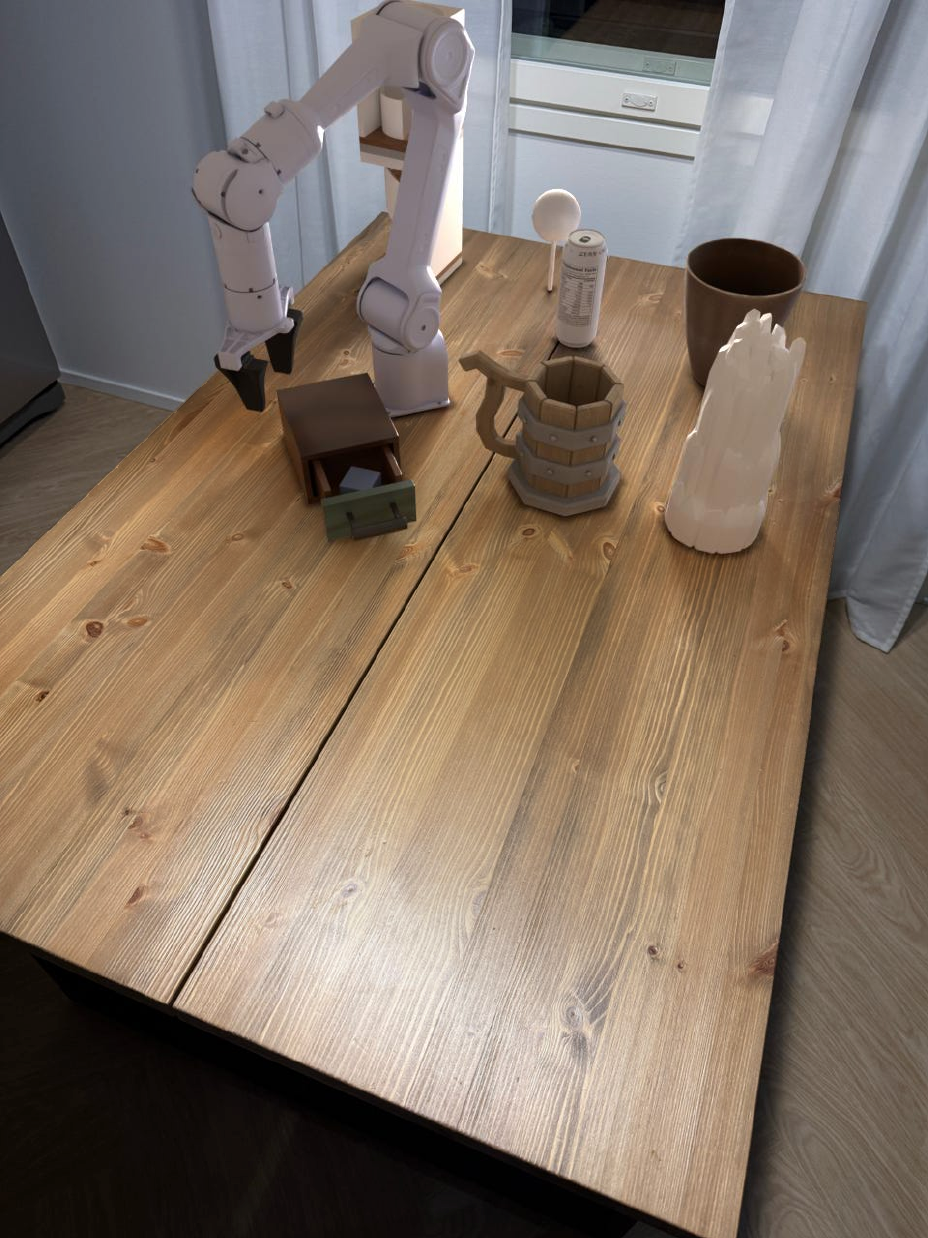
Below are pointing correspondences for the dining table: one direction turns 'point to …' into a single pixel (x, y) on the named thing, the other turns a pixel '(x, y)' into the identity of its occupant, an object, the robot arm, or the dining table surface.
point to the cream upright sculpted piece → (735, 440)
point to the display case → (386, 145)
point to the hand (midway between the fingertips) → (269, 390)
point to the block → (359, 480)
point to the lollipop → (555, 220)
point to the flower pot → (735, 293)
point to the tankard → (556, 430)
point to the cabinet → (333, 422)
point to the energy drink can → (580, 287)
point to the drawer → (363, 495)
